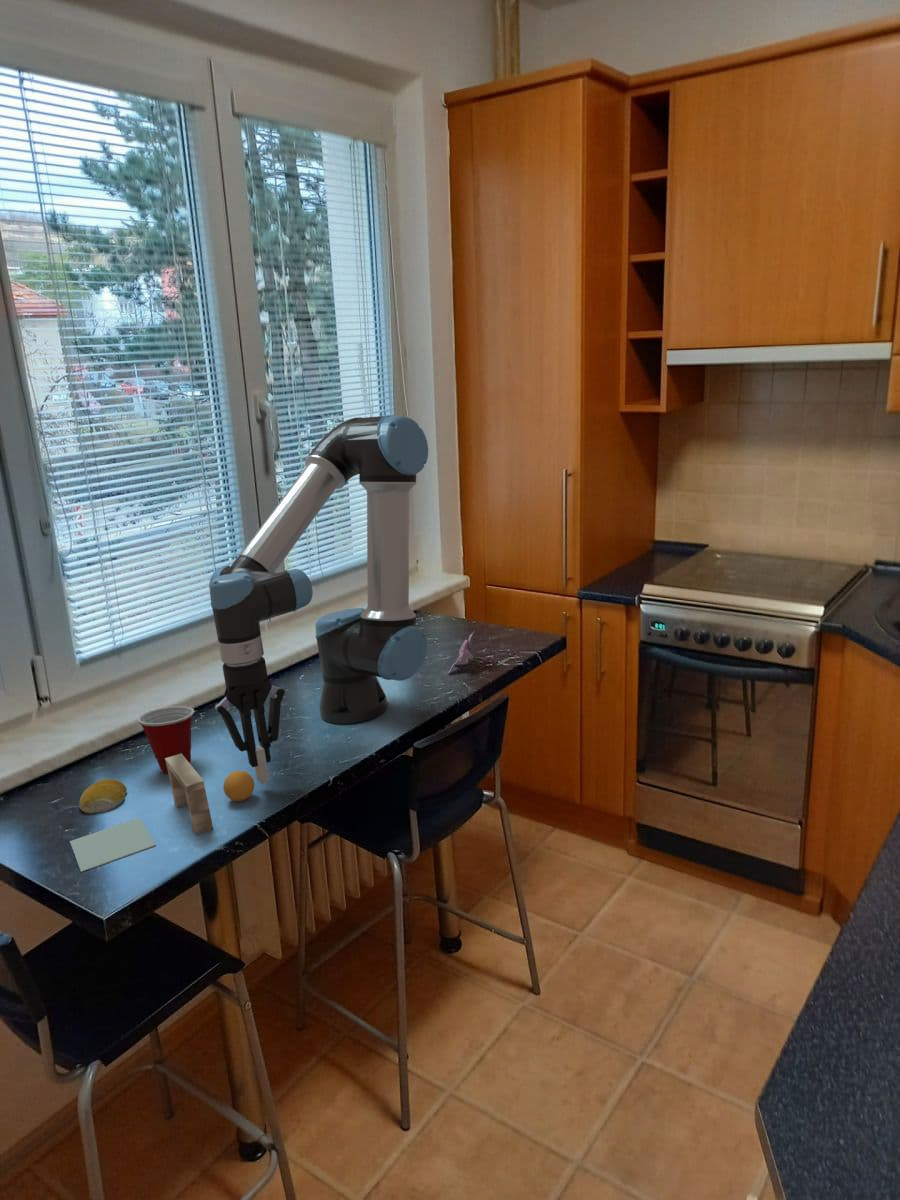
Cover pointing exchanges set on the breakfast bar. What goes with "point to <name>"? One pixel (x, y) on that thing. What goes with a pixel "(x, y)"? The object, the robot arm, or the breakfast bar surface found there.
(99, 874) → the breakfast bar surface
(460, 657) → the lily
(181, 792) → the bridge
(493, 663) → the breakfast bar surface
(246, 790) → the ball
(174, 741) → the plastic cup
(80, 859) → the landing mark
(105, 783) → the yellow bowl
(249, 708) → the robot arm
